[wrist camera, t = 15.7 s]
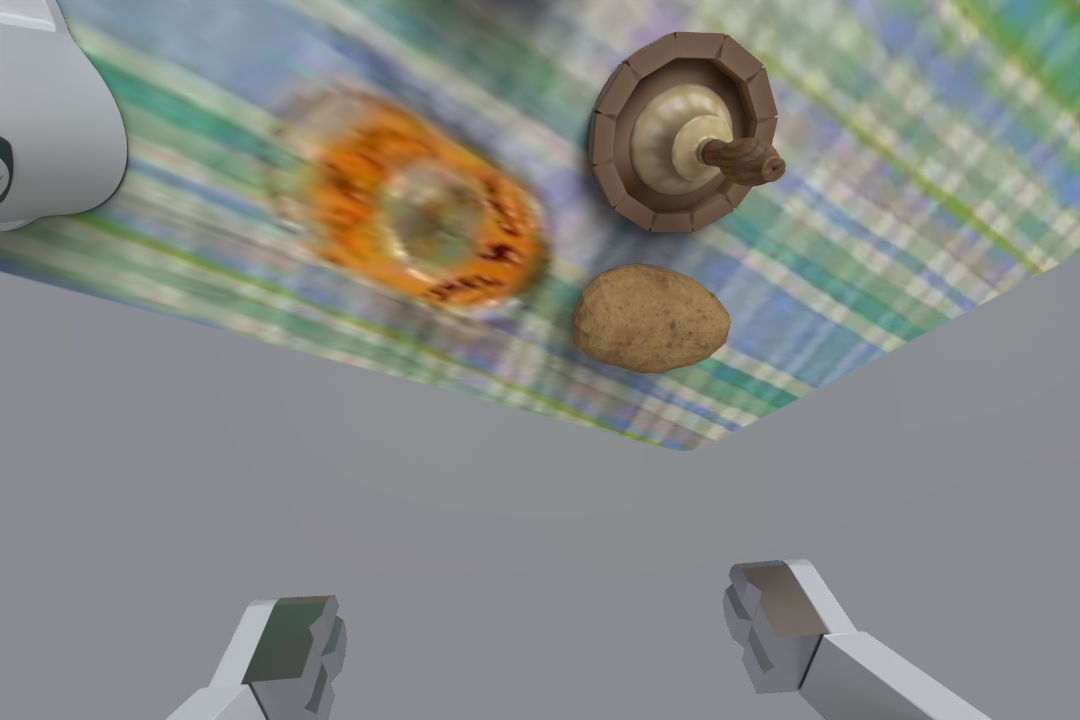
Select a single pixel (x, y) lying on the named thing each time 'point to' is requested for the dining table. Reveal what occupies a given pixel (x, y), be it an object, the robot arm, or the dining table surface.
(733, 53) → the tray
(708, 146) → the hand bell
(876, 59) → the dining table surface
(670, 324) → the potato
